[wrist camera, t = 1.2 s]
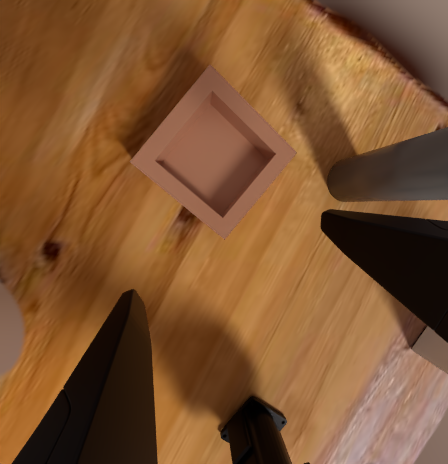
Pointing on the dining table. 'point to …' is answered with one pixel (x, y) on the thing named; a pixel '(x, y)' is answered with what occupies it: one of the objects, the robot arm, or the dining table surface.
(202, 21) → the dining table surface
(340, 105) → the dining table surface
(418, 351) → the milk carton
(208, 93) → the terracotta holder
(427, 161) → the pepper mill
